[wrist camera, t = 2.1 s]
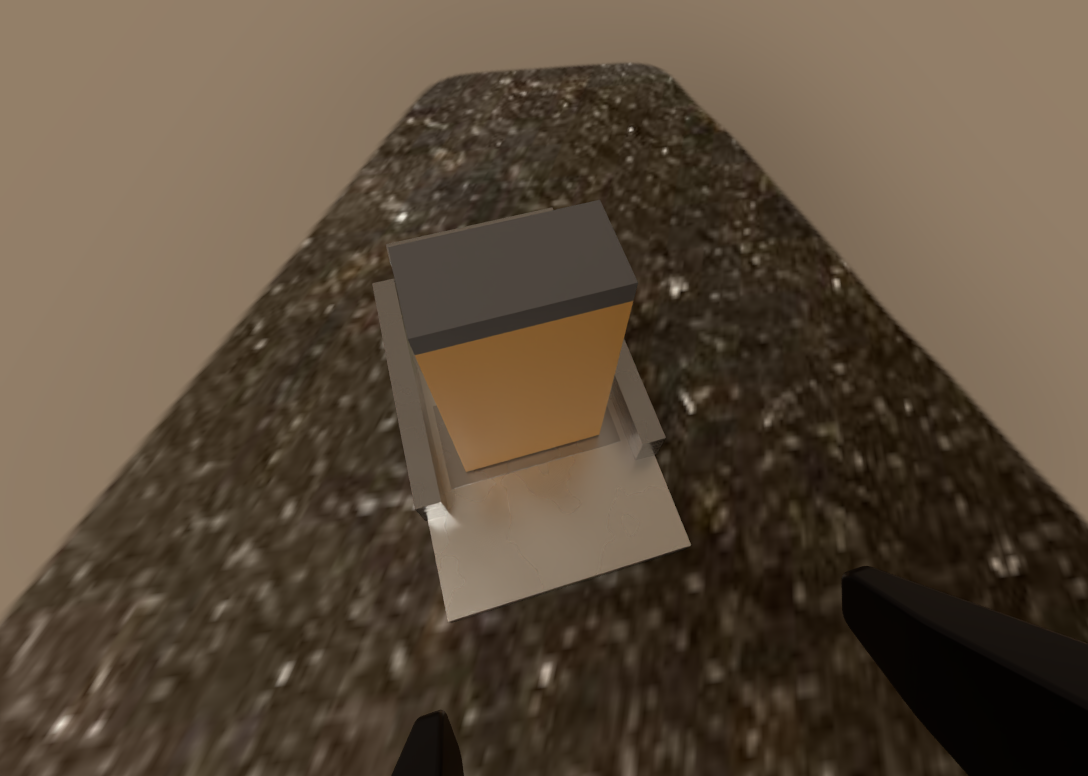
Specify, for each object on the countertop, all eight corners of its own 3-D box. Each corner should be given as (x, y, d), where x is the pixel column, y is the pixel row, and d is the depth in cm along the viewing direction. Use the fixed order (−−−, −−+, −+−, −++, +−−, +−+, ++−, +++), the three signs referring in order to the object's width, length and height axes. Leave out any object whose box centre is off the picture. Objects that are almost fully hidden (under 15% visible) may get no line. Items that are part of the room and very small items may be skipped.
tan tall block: (599, 434, 23) (638, 282, 14) (465, 472, 23) (407, 338, 13) (578, 376, 25) (599, 200, 15) (451, 410, 24) (388, 246, 14)
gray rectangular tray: (688, 547, 22) (714, 529, 19) (448, 623, 21) (430, 618, 18) (570, 255, 29) (574, 202, 26) (384, 298, 28) (362, 249, 24)
